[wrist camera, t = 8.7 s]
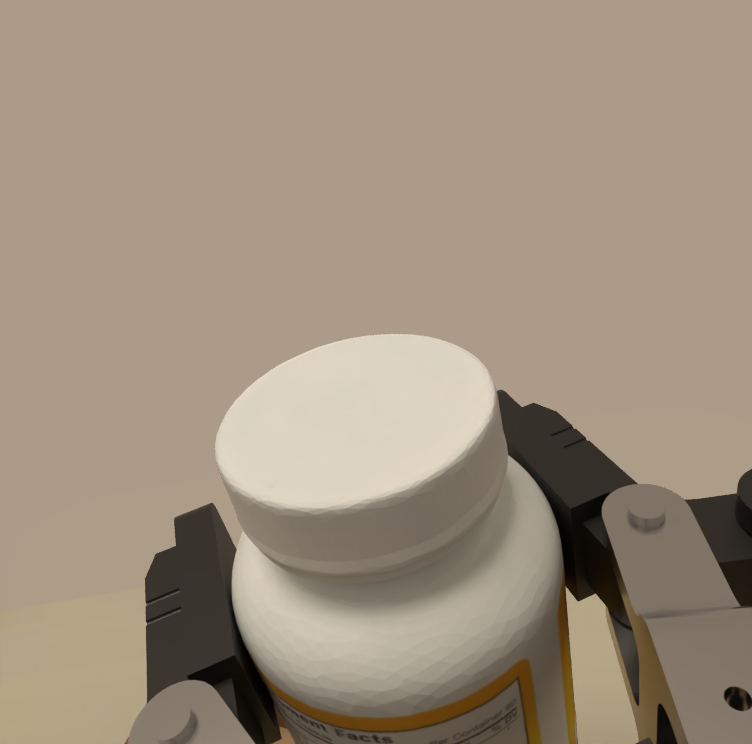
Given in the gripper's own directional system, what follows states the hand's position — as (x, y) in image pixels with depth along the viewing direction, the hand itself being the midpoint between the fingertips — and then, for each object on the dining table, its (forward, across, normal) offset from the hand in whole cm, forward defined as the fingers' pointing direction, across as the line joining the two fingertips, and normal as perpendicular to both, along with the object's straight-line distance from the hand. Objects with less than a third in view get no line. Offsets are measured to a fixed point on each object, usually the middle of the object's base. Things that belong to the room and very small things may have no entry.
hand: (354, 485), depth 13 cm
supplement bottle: (-3, 0, +6) cm, 7 cm away
